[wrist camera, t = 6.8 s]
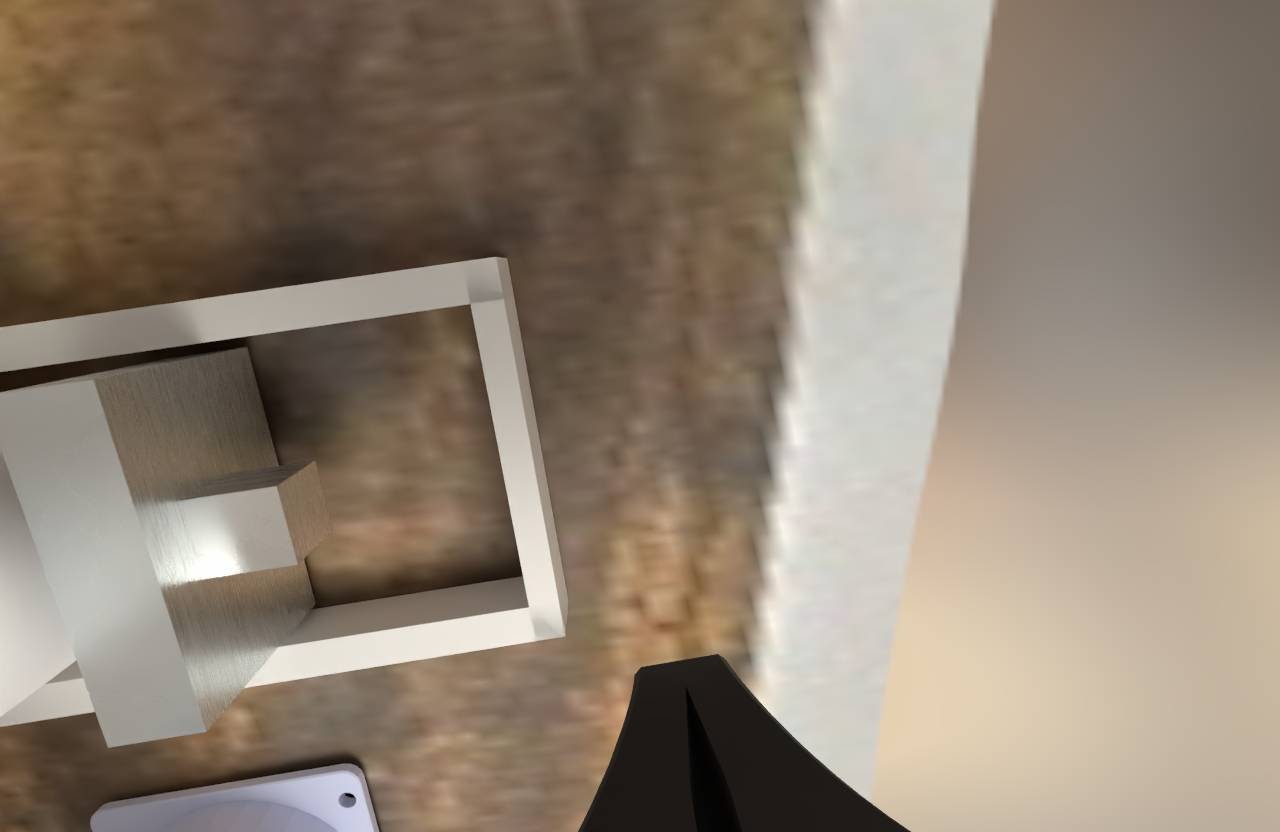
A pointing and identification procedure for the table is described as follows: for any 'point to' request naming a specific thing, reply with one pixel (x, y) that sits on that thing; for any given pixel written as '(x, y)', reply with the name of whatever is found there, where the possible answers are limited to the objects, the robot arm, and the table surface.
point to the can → (25, 608)
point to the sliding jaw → (164, 533)
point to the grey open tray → (377, 624)
